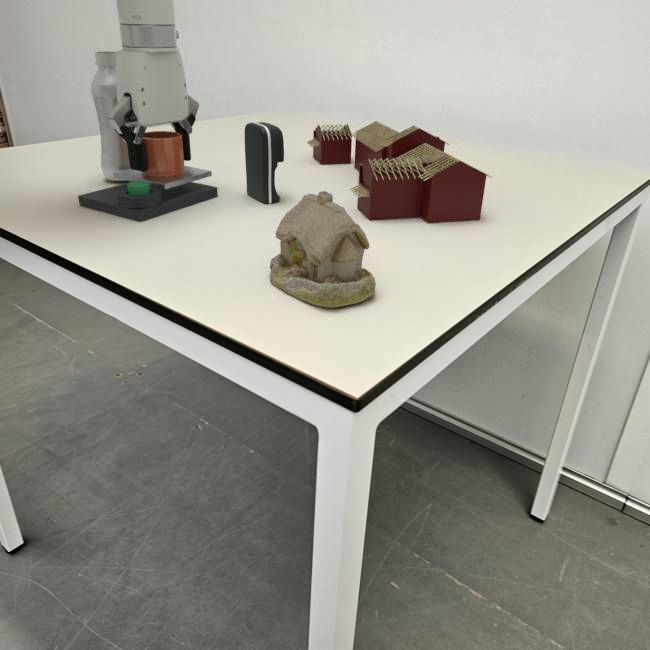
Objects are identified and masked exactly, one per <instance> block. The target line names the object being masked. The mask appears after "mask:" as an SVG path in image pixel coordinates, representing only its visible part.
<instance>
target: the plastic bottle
mask: <svg viewBox="0 0 650 650" xmlns="http://www.w3.org/2000/svg"><path fill="white" fill-rule="evenodd" d="M117 54H118V51H94V58H95V61H94V63H95V64H94V65H95V66H97V71H96V72H95V74H94V76H93V78H92V81H91V83H90V93H91V97H92V101H93V104H94V108H95V112H96V116H97V122H98V124H99V125H98V126H99V127H98V129H99V133H100V151H101V153H100V169H101V172H102V175H103V176H104V177H105V179H107V180H109V181H113V182H114V181H115V182H127V181H126V180H121V179H117V178H114V177H113V173H114V172H118V171H122V170H126V169H130V163H129V156H128V148H127V142H124V141H123V140H122V137H121V136H119V135H118V134H117V133H116V131H115V128H114V127H113V126H112V124H111V123H110V121H109V120H108V118H107V115H108V113H109V112H110V111H111V110H112V109H113V108H114V107H115V106H116V105H117V104H118V102H117V86H116V65H117ZM125 125H127V124H126V123H125ZM134 133H135V131H134Z"/></svg>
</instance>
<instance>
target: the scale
mask: <svg viewBox="0 0 650 650" xmlns="http://www.w3.org/2000/svg"><path fill="white" fill-rule="evenodd" d="M128 183H130V181H128V182H126V183H125V182H124V183H121V184H118V185H114V186H110V187H107V188H102V189H99V190H95V191H91V192H86V193H83V194H80V195H77V198H78V204H79V207H83V208H85V209H90V210H94V211H97V212H101V213H104V214H108V215H112V216H116V217H118V218H119V217H120V218H124V219H127V220H130V221H134V222H138V223H142V222H146V221H149V220H151V219H155V218H158V217H160V216H164V215H167V214H170V213H173V212H176V211H179V210H183V209H185V208H188V207H191V206H194V205H197V204H201V203H203V202H206V201H210V200H212V199H216V198H218V196H219V193H218V186H213V185H208V184H204V183H199V182H196V181H193V182H189V183H186V184H182V185H179V186H175V187H172V188H168V189H161V188H156V187H152V186H150V194H147V195H139V196H137V195H129V193H128V186H127V184H128Z"/></svg>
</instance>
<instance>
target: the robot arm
mask: <svg viewBox="0 0 650 650" xmlns="http://www.w3.org/2000/svg"><path fill="white" fill-rule="evenodd" d="M116 7H117V8H116V9H117V15H118V25H119V33H120V41H121V49H119V50H117V52H118V54H117V65H116V86H117V102H118V104H117V105H116V106H115V107H114V108H113V109H112V110H111V111H110V112H109V113H108V115H107V118H108V120H109V121H110V123H111V124H112V126H113V127H114V128H115V131H116V133H117V134H118V135H119V136H121V137H122V140H123V141H124V142H127V148H128V156H129V163H130V168H131V169H132V170H137V171H142V172H146V171H148V162H147V153H146V146H145V144H144V143H141V142H142V139H143V136H144V134H145V132H147V128H149V127H155V126H162V125H166V124H170V126H171V128H172V130H173V131H174V132H178V133H181V134H182V143H183V155H184V162H185V161H186V162H189V161H191V160H192V153H191V152H192V150H191V138H190V135H191V134H192V133H193V126H194V124H195V122H196V119H197V118H196V116H197V114H198V110H199V107H200V103H199V102H198V101H197V100H195V99H194V97H192V96H191V95H189V94H188V86H187V85H188V84H187V78H186V72H185V67H184V63H183V58H182V55H181V52H180V49H178V41H177V40H178V39H179V37H180V33H179V31H178V30H177V28H176V27H177V26H176V17H175V15H176V14H175V2H174V0H116ZM125 123H126V124H127V125H125ZM134 132H135V133H134Z"/></svg>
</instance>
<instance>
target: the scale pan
mask: <svg viewBox="0 0 650 650" xmlns="http://www.w3.org/2000/svg"><path fill="white" fill-rule="evenodd" d="M184 166H185V172H184V173H182V174H180V175H176V176H169V177H152V176H147V175H144V174H142V173H141V171H137V170H132V169H131V168H130V169H126V170H122V171H118V172H114V173H113V177H114V178H117V179H121V180H126V181H125V182H134V181H145V182H149V185H150V186H152V187H156V188H161V189H168V188H172V187H175V186H179V185H182V184H186V183H189V182H196V181H199V180H203V179H206V178H210V177H212V176H213V172H212V170H209V169H203V168H199V167H198V168H197V167H193V166H189V165H184Z"/></svg>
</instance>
